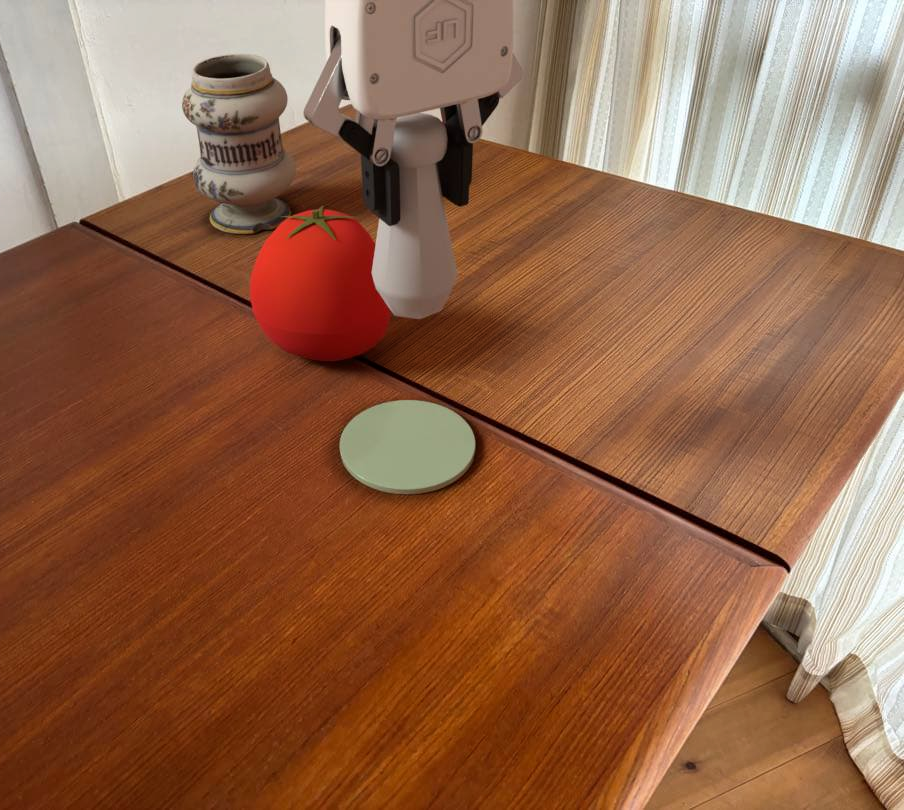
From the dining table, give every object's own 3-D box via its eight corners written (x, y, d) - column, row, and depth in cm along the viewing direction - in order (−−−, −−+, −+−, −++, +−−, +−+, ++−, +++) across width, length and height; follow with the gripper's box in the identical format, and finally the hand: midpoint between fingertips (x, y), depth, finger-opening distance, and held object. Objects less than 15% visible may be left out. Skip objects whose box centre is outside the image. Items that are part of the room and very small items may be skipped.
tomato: (396, 320, 84) (393, 185, 75) (389, 390, 75) (384, 246, 66) (271, 319, 85) (253, 186, 76) (249, 388, 76) (226, 246, 67)
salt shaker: (444, 331, 56) (445, 141, 48) (362, 320, 58) (350, 134, 50) (464, 287, 61) (469, 105, 52) (388, 277, 62) (381, 100, 54)
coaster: (487, 416, 71) (488, 411, 71) (458, 506, 63) (458, 501, 63) (364, 396, 74) (363, 390, 74) (320, 479, 66) (320, 474, 66)
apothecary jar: (223, 249, 97) (196, 90, 86) (187, 210, 105) (159, 61, 94) (317, 222, 101) (303, 67, 90) (275, 187, 110) (258, 41, 99)
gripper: (292, -99, 37) (323, 266, 49) (596, -139, 43) (561, 198, 54) (233, -117, 43) (274, 217, 54) (511, -149, 48) (495, 159, 60)
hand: (418, 204), depth 54 cm, fingers closed on salt shaker, 4 cm apart
